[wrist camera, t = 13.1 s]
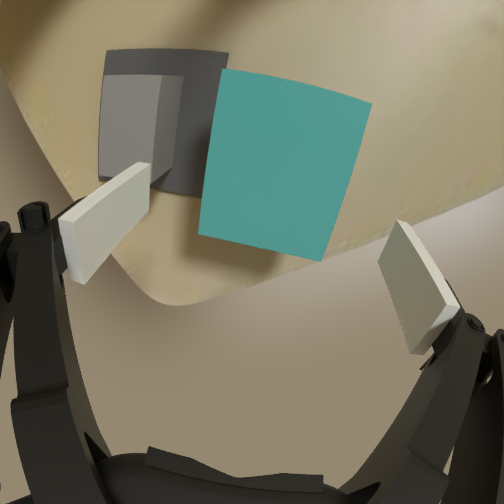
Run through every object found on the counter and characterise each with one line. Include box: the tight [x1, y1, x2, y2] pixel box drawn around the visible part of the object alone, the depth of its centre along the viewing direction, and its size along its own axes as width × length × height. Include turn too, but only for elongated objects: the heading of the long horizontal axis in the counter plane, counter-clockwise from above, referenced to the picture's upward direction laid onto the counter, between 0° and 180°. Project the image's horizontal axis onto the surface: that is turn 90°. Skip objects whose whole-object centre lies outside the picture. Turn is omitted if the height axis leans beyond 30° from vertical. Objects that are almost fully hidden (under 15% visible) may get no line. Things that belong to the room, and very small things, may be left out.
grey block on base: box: [98, 49, 229, 198], centre depth 25 cm, size 14×16×6 cm
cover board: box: [198, 68, 372, 262], centre depth 22 cm, size 11×14×2 cm
